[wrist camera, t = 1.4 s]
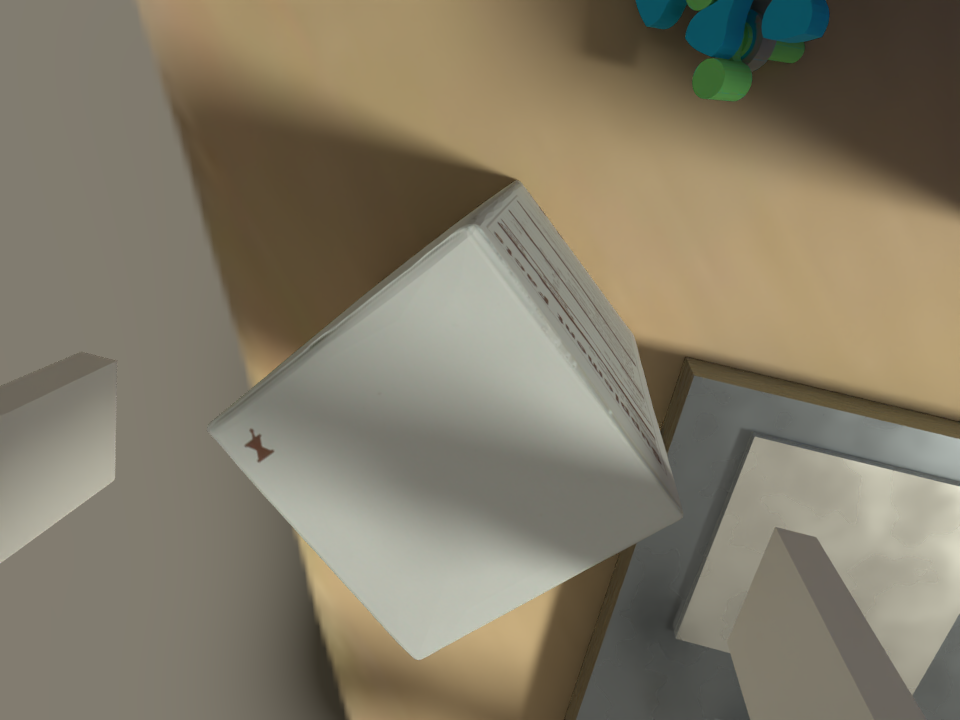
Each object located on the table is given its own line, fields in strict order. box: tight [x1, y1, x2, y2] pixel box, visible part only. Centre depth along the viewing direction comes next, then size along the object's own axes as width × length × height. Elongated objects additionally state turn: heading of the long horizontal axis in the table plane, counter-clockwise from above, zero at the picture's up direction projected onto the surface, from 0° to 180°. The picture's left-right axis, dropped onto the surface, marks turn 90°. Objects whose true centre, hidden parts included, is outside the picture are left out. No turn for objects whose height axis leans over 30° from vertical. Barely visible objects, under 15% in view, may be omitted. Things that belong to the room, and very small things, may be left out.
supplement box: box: [207, 180, 683, 660], centre depth 19 cm, size 7×7×13 cm
